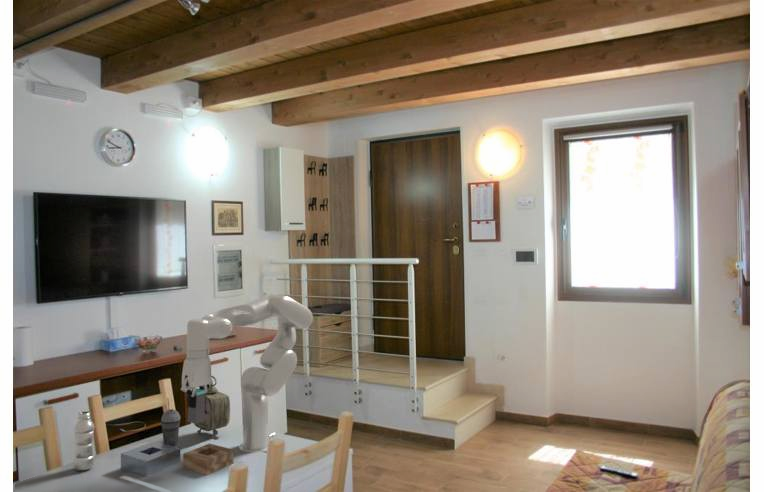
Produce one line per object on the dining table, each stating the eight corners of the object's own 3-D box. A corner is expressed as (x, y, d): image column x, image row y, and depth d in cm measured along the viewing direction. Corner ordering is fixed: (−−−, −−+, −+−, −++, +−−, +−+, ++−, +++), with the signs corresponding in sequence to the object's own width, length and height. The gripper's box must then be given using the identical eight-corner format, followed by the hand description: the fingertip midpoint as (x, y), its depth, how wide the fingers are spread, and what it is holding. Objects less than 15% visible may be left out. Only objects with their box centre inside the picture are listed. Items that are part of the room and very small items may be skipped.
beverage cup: (173, 454, 213) (174, 401, 213) (156, 452, 214) (156, 400, 214) (184, 447, 220) (184, 396, 220) (167, 446, 221) (167, 395, 221)
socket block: (154, 457, 210) (154, 441, 210) (180, 465, 203) (180, 448, 203) (120, 470, 198) (120, 453, 198) (146, 478, 191) (146, 461, 191)
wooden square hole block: (209, 459, 208) (209, 443, 208) (233, 466, 202) (233, 449, 202) (183, 470, 198) (183, 453, 198) (207, 478, 192) (207, 460, 192)
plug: (196, 418, 202) (197, 388, 202) (204, 420, 200) (205, 390, 200) (187, 421, 199) (188, 390, 199) (195, 423, 197) (196, 392, 197)
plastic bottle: (87, 464, 203) (87, 409, 203) (98, 468, 200) (98, 412, 199) (69, 470, 197) (69, 413, 197) (80, 474, 194) (80, 416, 194)
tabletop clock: (192, 434, 235) (192, 374, 235) (211, 428, 242) (211, 371, 242) (212, 442, 226) (212, 380, 226) (231, 436, 233) (231, 376, 233)
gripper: (207, 349, 209) (206, 399, 209) (171, 356, 194) (170, 409, 194) (222, 351, 205) (221, 401, 205) (187, 359, 190) (186, 413, 190)
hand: (196, 405), depth 199 cm, fingers closed on plug, 4 cm apart
